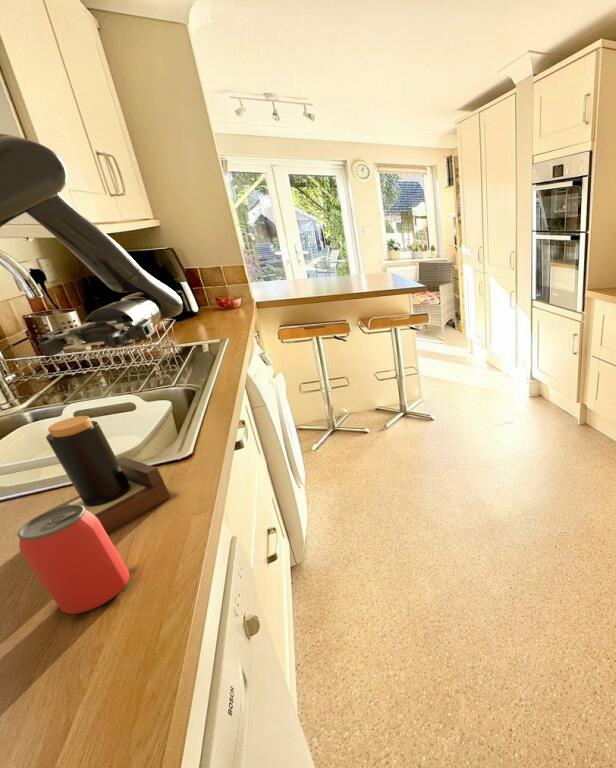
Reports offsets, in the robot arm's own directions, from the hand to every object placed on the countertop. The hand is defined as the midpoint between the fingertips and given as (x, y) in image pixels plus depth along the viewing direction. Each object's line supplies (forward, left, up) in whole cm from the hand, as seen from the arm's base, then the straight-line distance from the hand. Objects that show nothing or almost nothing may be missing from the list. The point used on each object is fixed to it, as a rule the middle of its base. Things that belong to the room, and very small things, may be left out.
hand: (79, 346), depth 67 cm
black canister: (+8, -8, -22) cm, 24 cm away
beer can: (+25, -18, -25) cm, 40 cm away
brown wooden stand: (+8, -8, -25) cm, 27 cm away
